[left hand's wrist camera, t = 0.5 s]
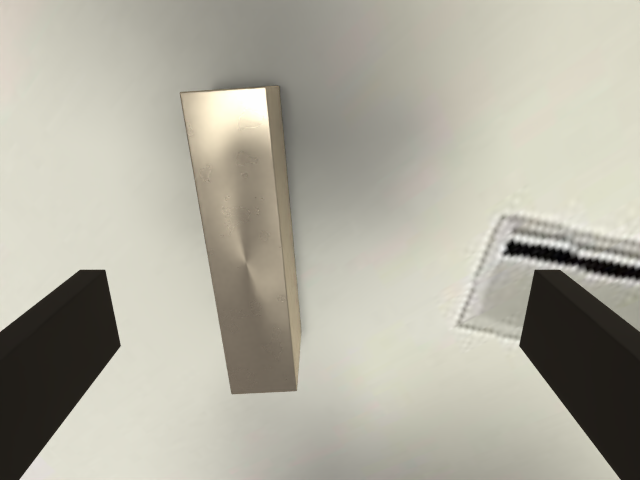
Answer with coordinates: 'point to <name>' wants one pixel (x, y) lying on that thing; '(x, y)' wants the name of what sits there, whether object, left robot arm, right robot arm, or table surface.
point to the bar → (247, 231)
